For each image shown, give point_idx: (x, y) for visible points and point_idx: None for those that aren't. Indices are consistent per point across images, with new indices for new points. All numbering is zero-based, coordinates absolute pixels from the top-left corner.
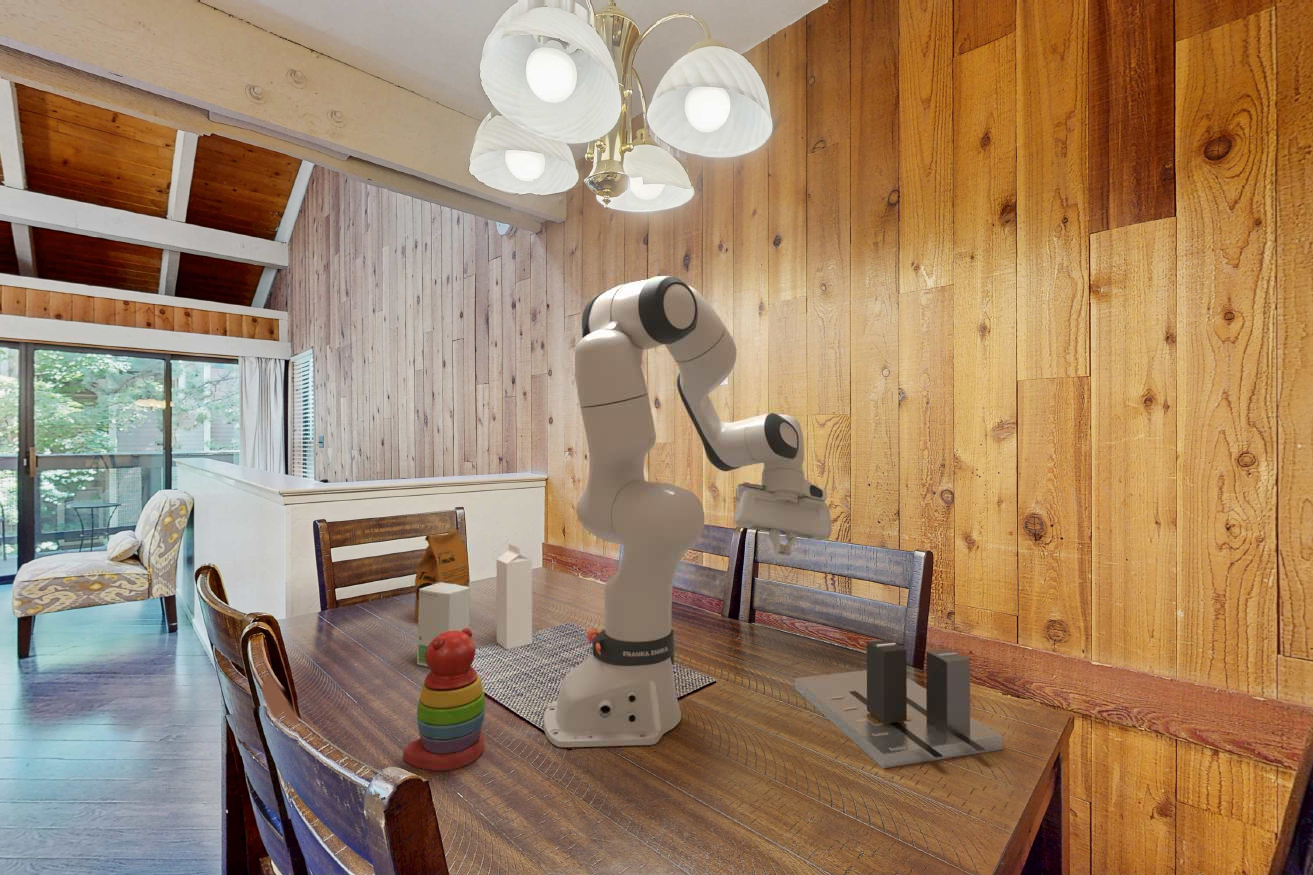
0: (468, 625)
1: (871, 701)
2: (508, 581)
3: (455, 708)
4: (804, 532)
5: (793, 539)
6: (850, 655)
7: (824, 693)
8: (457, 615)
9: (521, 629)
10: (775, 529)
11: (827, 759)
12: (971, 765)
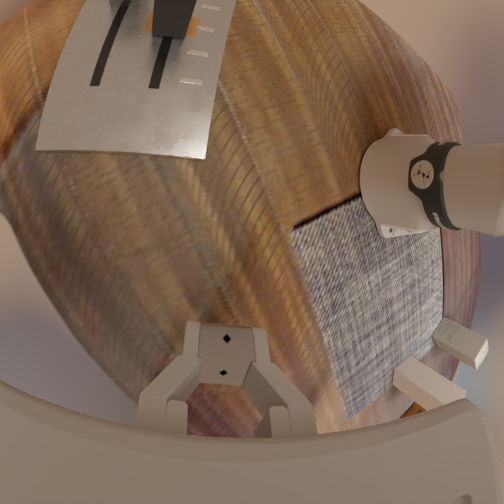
0: (452, 346)
1: (189, 22)
2: (453, 384)
3: None
4: (77, 414)
5: (165, 387)
6: (41, 253)
7: (197, 98)
8: (468, 338)
9: (411, 369)
10: (305, 434)
11: (273, 26)
12: None
